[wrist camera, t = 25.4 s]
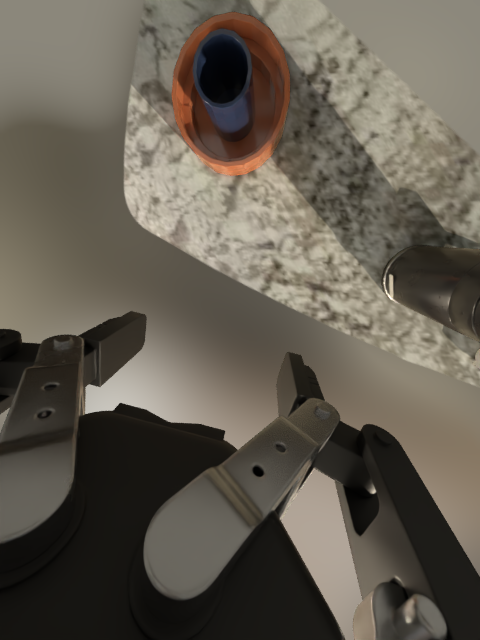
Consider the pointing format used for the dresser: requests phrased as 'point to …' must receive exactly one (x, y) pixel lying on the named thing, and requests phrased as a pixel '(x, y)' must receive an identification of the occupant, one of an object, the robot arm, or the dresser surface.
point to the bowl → (268, 96)
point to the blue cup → (226, 83)
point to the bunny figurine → (477, 359)
